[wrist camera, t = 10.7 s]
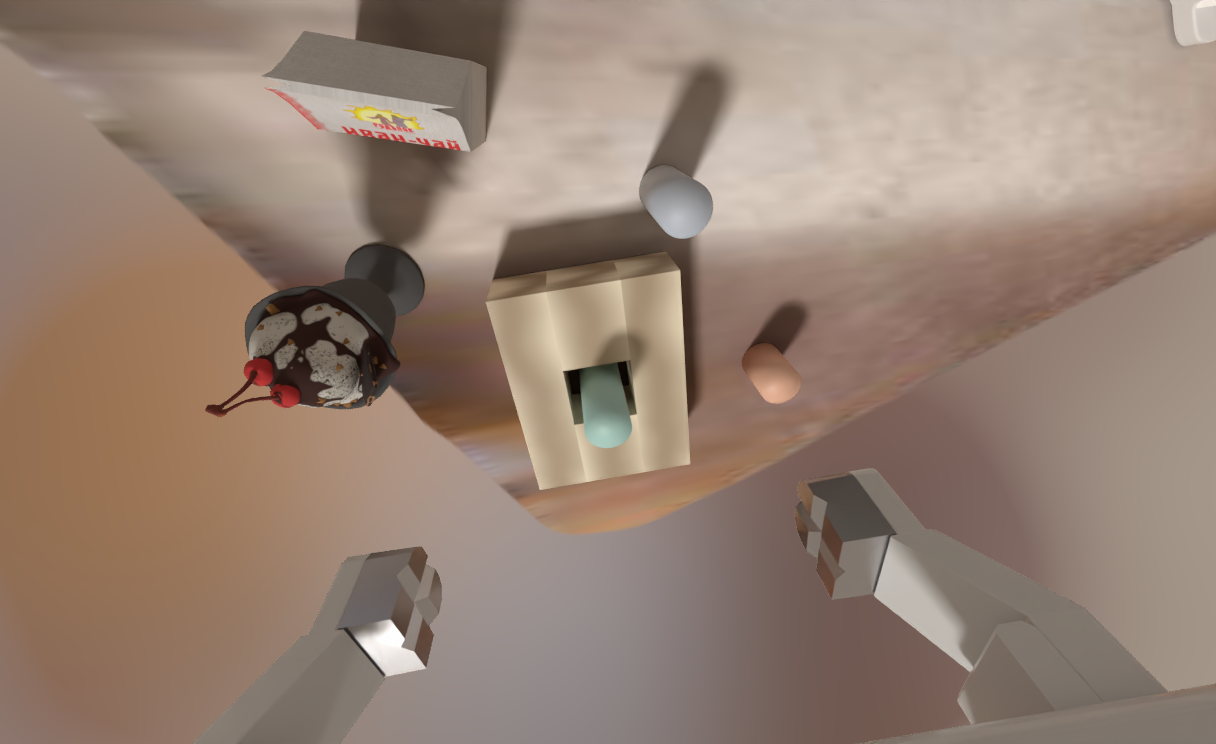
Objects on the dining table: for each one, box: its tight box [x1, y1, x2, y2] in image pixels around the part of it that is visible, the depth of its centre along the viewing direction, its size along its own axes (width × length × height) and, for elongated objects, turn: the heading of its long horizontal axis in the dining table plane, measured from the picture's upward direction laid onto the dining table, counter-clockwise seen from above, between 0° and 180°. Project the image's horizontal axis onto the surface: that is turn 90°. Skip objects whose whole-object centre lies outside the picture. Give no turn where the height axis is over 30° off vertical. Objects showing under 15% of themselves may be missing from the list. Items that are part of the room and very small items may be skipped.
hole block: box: [486, 252, 690, 490], centre depth 34 cm, size 12×16×4 cm
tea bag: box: [262, 31, 487, 152], centre depth 22 cm, size 4×7×10 cm, turn 81°
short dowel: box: [742, 343, 801, 403], centre depth 36 cm, size 3×3×4 cm
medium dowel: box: [639, 165, 713, 239], centre depth 27 cm, size 3×3×6 cm
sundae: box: [205, 245, 424, 417], centre depth 25 cm, size 7×7×15 cm
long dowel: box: [579, 362, 632, 448], centre depth 33 cm, size 3×3×8 cm
